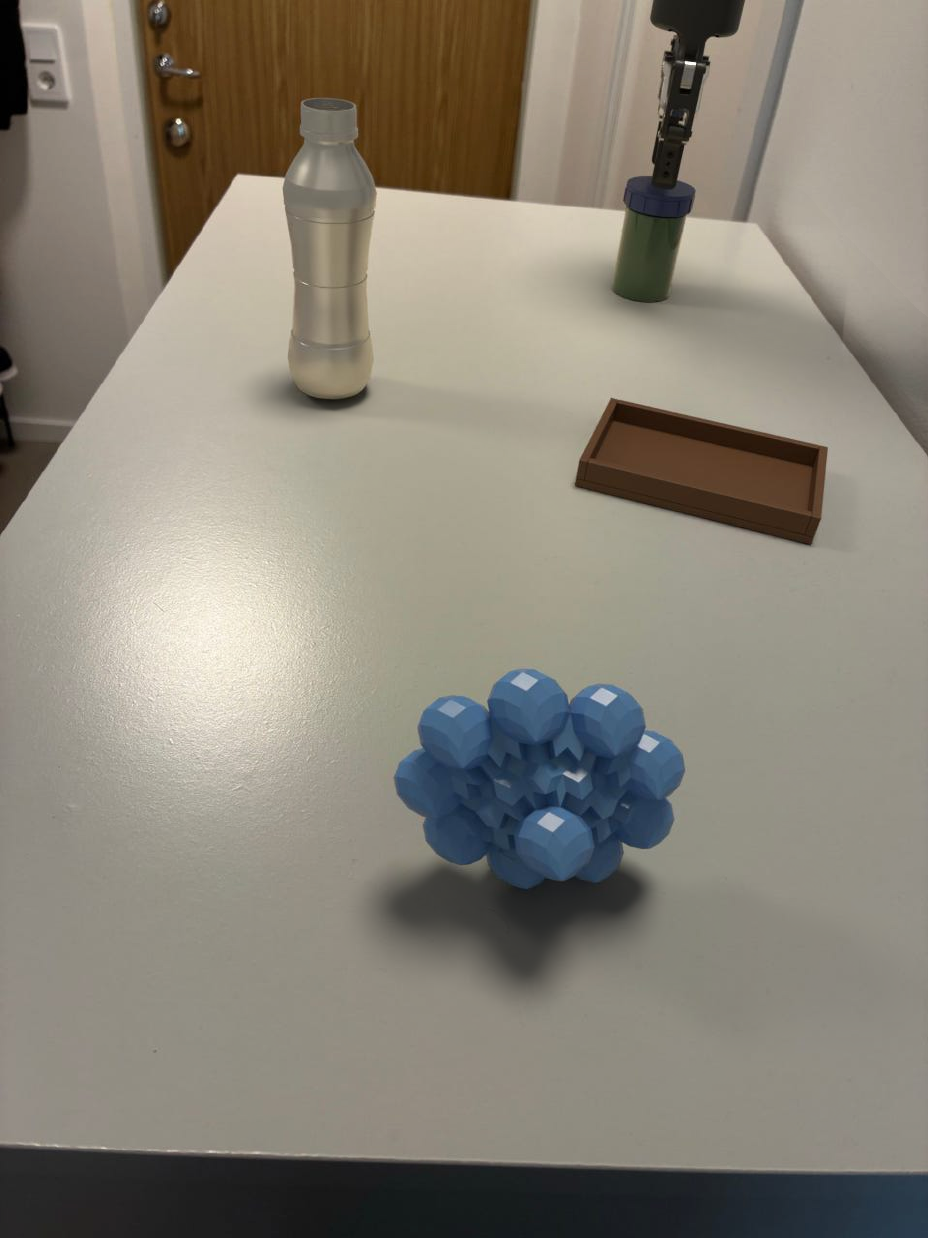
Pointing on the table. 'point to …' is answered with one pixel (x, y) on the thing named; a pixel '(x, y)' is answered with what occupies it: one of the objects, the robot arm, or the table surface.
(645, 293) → the jam jar
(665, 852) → the table surface
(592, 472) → the serving tray
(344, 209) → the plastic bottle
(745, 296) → the table surface
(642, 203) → the jar lid
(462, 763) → the blue ball cluster
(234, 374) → the table surface
